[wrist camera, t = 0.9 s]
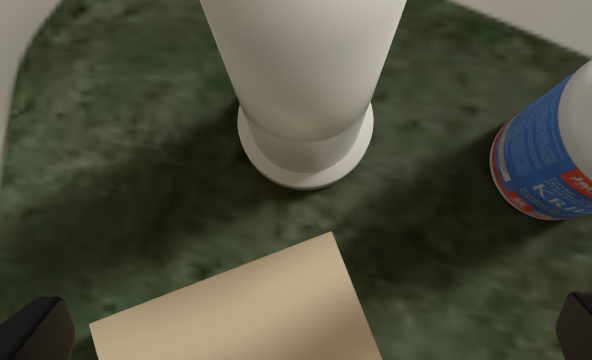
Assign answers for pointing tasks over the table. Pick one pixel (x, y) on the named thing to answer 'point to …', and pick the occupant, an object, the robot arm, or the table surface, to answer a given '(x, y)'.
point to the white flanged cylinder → (304, 81)
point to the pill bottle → (549, 152)
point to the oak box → (250, 314)
